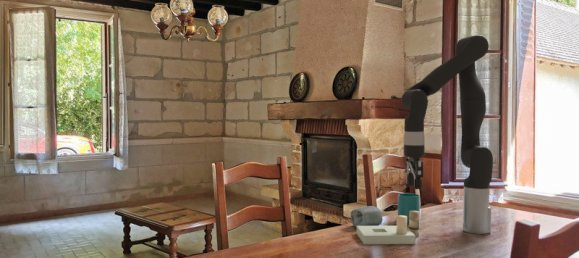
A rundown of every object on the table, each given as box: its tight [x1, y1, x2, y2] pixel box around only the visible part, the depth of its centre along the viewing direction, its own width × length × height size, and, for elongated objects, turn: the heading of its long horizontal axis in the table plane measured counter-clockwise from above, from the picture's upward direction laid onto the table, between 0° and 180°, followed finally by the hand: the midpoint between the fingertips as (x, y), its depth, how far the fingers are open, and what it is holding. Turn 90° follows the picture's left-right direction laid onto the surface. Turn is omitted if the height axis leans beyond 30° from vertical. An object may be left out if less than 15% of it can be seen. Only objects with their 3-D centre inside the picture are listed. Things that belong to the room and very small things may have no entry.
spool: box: [350, 205, 384, 229], centre depth 186 cm, size 14×10×10 cm
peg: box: [408, 211, 420, 238], centre depth 173 cm, size 4×4×9 cm
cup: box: [397, 192, 421, 224], centre depth 197 cm, size 9×12×11 cm
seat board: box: [356, 214, 416, 245], centre depth 168 cm, size 18×14×9 cm
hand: (413, 187), depth 173 cm, fingers open, 8 cm apart
